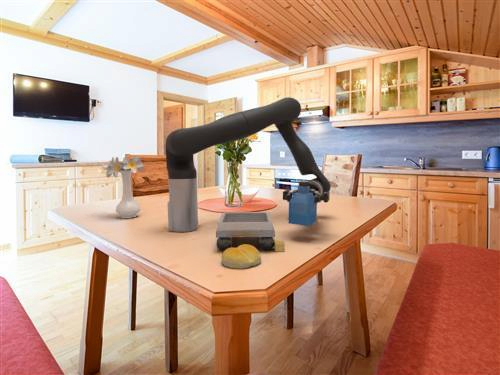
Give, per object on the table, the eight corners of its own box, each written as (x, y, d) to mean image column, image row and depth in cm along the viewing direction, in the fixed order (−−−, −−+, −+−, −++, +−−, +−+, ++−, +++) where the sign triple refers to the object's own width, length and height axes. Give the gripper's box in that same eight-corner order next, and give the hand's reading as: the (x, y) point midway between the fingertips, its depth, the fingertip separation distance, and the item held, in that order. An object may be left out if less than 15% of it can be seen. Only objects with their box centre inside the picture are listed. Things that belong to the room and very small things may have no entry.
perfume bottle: (308, 226, 80) (310, 183, 79) (288, 223, 83) (289, 182, 82) (316, 222, 85) (317, 181, 84) (296, 219, 88) (297, 180, 87)
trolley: (216, 252, 73) (215, 223, 73) (221, 236, 88) (221, 212, 87) (284, 251, 73) (284, 223, 73) (278, 235, 88) (278, 211, 88)
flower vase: (119, 213, 126) (116, 155, 124) (155, 215, 121) (153, 155, 118) (95, 219, 114) (91, 155, 111) (135, 222, 109) (131, 155, 106)
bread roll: (215, 261, 68) (215, 245, 67) (248, 254, 72) (248, 239, 72) (232, 273, 61) (232, 255, 60) (267, 264, 65) (267, 247, 65)
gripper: (289, 180, 99) (277, 184, 83) (332, 181, 94) (328, 186, 79) (288, 202, 100) (276, 210, 84) (331, 204, 95) (327, 214, 79)
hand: (301, 199), depth 81 cm, fingers closed on perfume bottle, 7 cm apart
